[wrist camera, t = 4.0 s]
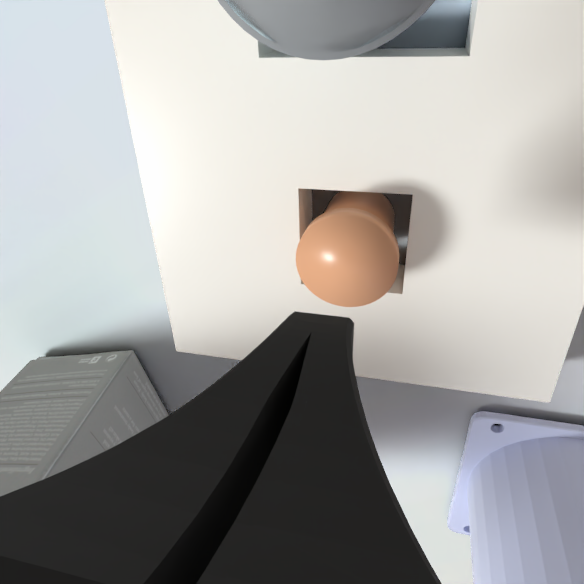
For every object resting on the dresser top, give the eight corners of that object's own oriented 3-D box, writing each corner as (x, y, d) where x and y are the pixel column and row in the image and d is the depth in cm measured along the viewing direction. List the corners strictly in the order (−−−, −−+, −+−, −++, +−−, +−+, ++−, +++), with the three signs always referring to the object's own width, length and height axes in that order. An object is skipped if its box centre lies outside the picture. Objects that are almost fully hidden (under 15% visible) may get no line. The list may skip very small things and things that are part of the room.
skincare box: (36, 351, 25) (-389, 745, 12) (152, 343, 23) (-224, 823, 10) (106, 462, 29) (-158, 848, 16) (211, 466, 27) (0, 923, 14)
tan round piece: (407, 179, 16) (402, 220, 13) (399, 260, 17) (393, 311, 14) (316, 175, 16) (294, 212, 14) (317, 253, 18) (297, 301, 15)
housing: (844, -609, 8) (958, -772, 6) (538, 365, 18) (549, 403, 17) (71, -412, 11) (5, -485, 9) (195, 323, 21) (176, 351, 20)
